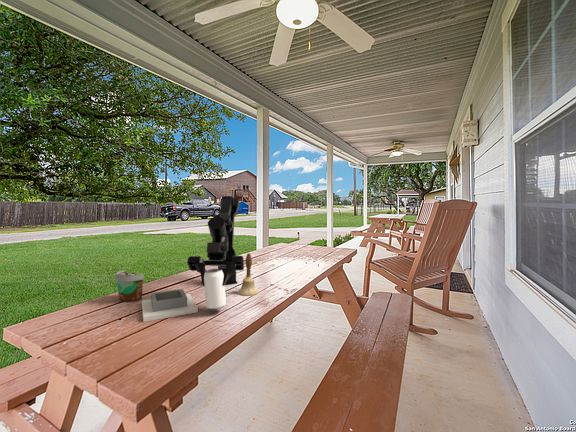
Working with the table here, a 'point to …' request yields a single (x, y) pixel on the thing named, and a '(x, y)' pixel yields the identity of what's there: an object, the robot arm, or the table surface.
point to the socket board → (168, 305)
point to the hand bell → (248, 280)
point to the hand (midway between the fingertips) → (213, 285)
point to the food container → (129, 286)
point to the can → (214, 288)
